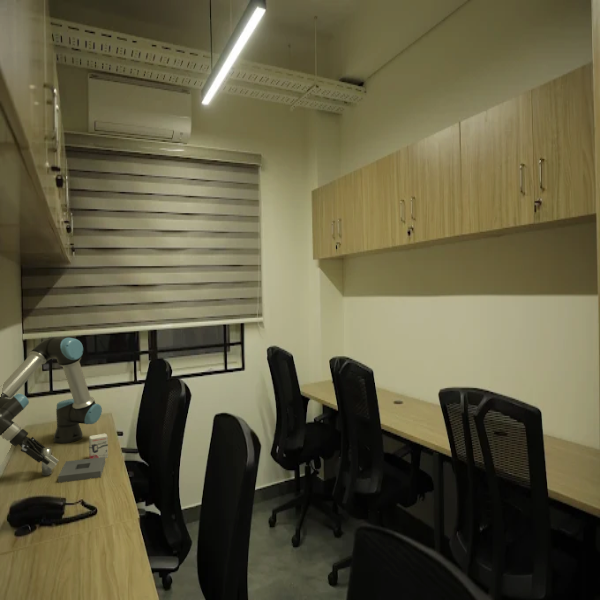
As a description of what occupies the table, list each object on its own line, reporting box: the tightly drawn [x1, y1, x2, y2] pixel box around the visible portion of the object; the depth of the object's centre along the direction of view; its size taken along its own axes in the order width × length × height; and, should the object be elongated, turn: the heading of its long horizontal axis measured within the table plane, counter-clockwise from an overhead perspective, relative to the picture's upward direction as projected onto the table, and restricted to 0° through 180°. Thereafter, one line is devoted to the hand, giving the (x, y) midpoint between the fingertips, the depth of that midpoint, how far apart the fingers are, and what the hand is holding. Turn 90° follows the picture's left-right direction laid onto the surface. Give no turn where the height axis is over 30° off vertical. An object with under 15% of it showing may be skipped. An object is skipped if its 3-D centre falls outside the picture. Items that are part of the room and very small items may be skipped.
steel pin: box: [41, 446, 53, 476], centre depth 210 cm, size 4×4×12 cm
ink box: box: [88, 433, 109, 459], centre depth 231 cm, size 8×5×12 cm, turn 123°
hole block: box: [57, 457, 106, 483], centre depth 213 cm, size 18×18×3 cm
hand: (55, 464), depth 211 cm, fingers closed on steel pin, 4 cm apart
